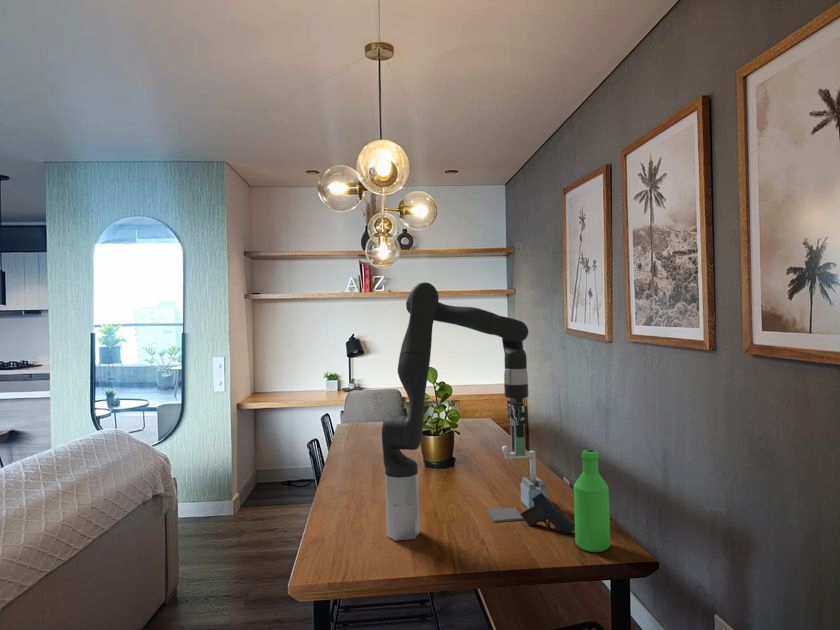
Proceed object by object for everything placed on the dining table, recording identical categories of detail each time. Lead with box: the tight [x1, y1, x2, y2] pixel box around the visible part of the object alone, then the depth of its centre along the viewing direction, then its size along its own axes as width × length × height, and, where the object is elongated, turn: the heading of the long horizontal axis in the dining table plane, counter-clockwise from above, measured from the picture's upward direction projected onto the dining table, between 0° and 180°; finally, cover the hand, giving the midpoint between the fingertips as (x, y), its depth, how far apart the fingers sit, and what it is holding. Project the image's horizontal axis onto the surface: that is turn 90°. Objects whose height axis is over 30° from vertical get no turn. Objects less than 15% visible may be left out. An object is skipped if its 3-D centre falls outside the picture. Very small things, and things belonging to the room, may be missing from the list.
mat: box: [486, 507, 525, 523], centre depth 166 cm, size 9×9×1 cm
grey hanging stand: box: [502, 445, 548, 509], centre depth 176 cm, size 8×13×19 cm, turn 98°
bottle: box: [573, 449, 611, 553], centre depth 143 cm, size 9×9×25 cm
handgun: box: [520, 493, 575, 536], centre depth 156 cm, size 3×14×10 cm
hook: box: [509, 418, 526, 456], centre depth 175 cm, size 5×3×11 cm, turn 7°
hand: (517, 435), depth 175 cm, fingers closed on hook, 5 cm apart
